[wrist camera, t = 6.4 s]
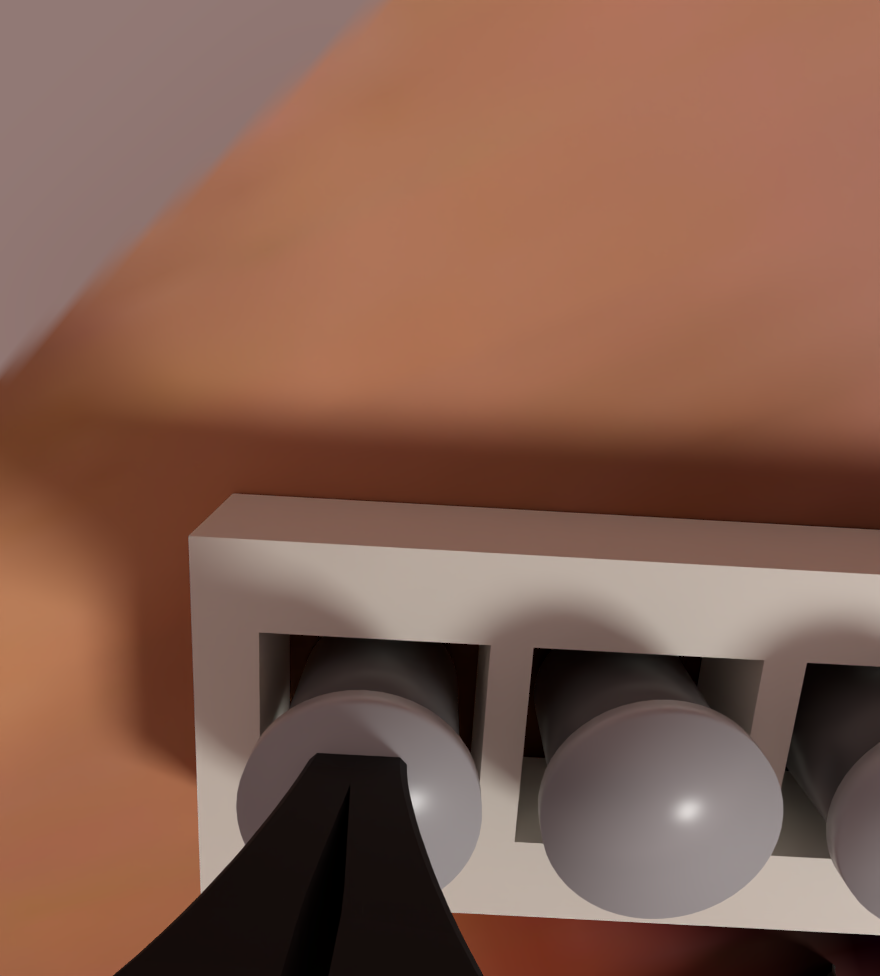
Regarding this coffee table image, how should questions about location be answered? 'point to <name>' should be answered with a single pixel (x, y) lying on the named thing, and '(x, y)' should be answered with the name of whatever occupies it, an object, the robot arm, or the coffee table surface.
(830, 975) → the sunglasses case
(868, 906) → the knob
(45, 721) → the coffee table surface
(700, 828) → the knob middle
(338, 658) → the knob
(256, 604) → the knob board
